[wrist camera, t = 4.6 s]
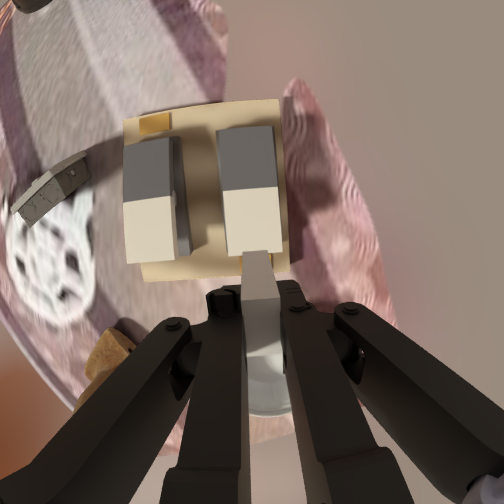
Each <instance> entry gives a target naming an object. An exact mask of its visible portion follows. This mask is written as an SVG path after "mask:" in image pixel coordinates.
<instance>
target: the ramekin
mask: <svg viewBox="0 0 504 504" xmlns="http://www.w3.org/2000/svg"><path fill="white" fill-rule="evenodd" d="M247 363H248V401H249V415H253V416H258V417H279V416H285V415H288V414H291V413H292V409H291V404H290V398H289V393H288V387H287V382H286V376H285V374H283V351H282V354H276V355H265V356H252V357H247Z"/></svg>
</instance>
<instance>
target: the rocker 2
mask: <svg viewBox="0 0 504 504" xmlns="http://www.w3.org/2000/svg"><path fill="white" fill-rule="evenodd" d="M219 145H220V160H221V173H222V187H223V200H224V212H225V224H226V235H227V247H228V257H229V256H241V255H242V252H246V251H259V250H267V251H268V253H277V252H283V249H282V235H281V222H280V209H279V197H278V185H277V174H276V164H275V153H274V143H273V134H272V126H256V127H242V128H231V129H221V130H219Z"/></svg>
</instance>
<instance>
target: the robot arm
mask: <svg viewBox="0 0 504 504" xmlns="http://www.w3.org/2000/svg"><path fill="white" fill-rule="evenodd" d="M12 1H13V3H14V4H15V6H16V8H17V9H18V10H19V11H21V12H23V13H26V14H28V13H32V12H34V11H37V10H38V9H40V8H42V7H43V6H45V5H46V4H48V3H49V2H50V1H51V0H12ZM206 301H207V307H208V314H209V315H208V320H207V321H205V322H203V323H200V324H196V325H192V326H190V322H189V320H187V319H186V318H182V317H172V318H168V319H166V320H163V321H162V322H160V323H159V324H158V325H157V326H156V327H155V328H154V329H153V330H152V331H151V332H150V333H149V334H148V335H147V336H146V337H145V338H144V340H143V341H142V342H141V343H140V344H139V345H138V346H137V347H136V348H135V349H134V350H133V351H132V352H131V353H130V354H129V355H128V356H127V357H126V359H125V360H124V361H123V362H122V363H121V364H120V365H119V366H118V367H117V368H116V369H115V370H114V371H113V372H112V373H111V375H110V376H109V377H108V378H107V379H106V380H105V381H104V382H103V383H102V384H101V385H100V386H99V387H98V388H97V390H96V391H95V392H94V393H93V394H92V395H91V396H90V397H89V398H88V399H87V400H86V402H85V403H84V404H83V405H82V406H81V407H80V408H79V409H78V410H77V411H76V412H75V414H74V415H73V416H72V417H71V418H70V419H69V420H68V421H67V422H66V424H65V425H64V426H63V427H62V428H61V429H60V430H59V431H58V433H56V435H55V436H54V437H53V438H52V439H51V440H50V441H49V442H48V444H47V445H46V446H45V447H44V448H43V449H42V451H40V453H39V454H38V455H37V456H36V457H35V458H34V459H33V461H32V462H31V463H30V464H29V465H27V466H25V467H23V468H22V469H20V470H18V471H16V472H14V473H12V474H11V475H9V476H7V477H5V478H3V479H1V480H0V504H129V502H130V501H131V499H132V497H133V496H134V494H135V492H136V491H137V489H138V487H139V485H140V484H141V482H142V481H143V479H144V477H145V475H146V474H147V472H148V470H149V469H150V467H151V465H152V463H153V462H154V460H155V458H156V457H157V455H158V453H159V451H160V450H161V448H162V446H163V444H164V443H165V441H166V439H167V437H168V436H169V434H170V432H171V430H172V429H173V427H174V425H175V423H176V422H177V420H178V418H179V416H180V415H181V413H182V411H183V409H184V408H185V406H186V404H187V402H188V400H189V399H190V401H189V406H188V411H187V416H186V421H185V426H184V431H183V436H182V441H181V447H180V452H179V457H178V462H177V465H176V466H175V467H173V468H169V470H168V471H167V472H166V475H165V478H164V481H163V487H162V492H161V497H160V502H159V504H251V478H250V477H251V476H250V441H249V401H248V363H247V357H252V356H265V355H276V354H282V351H283V374H285V376H286V382H287V387H288V393H289V398H290V404H291V409H292V415H293V421H294V426H295V432H296V437H297V443H298V449H299V455H300V461H301V467H302V473H303V479H304V485H305V490H306V496H307V504H414V501H413V499H412V496H411V494H410V491H409V489H408V486H407V484H406V482H405V479H404V477H403V475H402V472H401V470H400V468H399V465H398V463H397V461H396V458H395V456H394V455H393V453H392V451H391V450H390V449H389V448H387V447H379V446H378V445H377V443H376V441H375V439H374V437H373V434H372V432H371V430H370V427H369V425H368V423H367V420H366V418H365V416H364V414H363V411H362V409H361V406H360V404H359V402H358V399H359V400H360V401H361V403H362V404H363V405H364V406H365V407H366V408H367V410H368V411H369V412H370V413H371V414H372V415H373V417H374V418H375V419H376V420H377V421H378V422H379V424H380V425H381V426H382V427H383V428H384V429H385V431H386V432H387V433H388V434H389V435H390V436H391V438H392V439H393V440H394V441H395V442H396V443H397V444H398V446H399V447H400V448H401V449H402V450H403V451H404V453H405V454H406V455H407V456H408V457H409V458H410V460H411V461H412V462H413V463H414V464H415V465H416V466H417V468H418V469H419V470H420V471H421V472H422V473H423V474H424V475H425V477H426V478H427V479H428V480H429V481H430V482H431V483H432V484H433V486H434V487H435V488H436V489H437V490H438V491H439V492H440V493H441V494H442V495H444V496H445V497H447V498H448V499H449V500H451V501H452V502H454V503H456V504H504V410H503V409H502V408H500V407H499V406H498V405H496V404H495V403H494V402H493V401H491V400H490V399H489V398H487V397H486V396H485V395H484V394H482V393H481V392H480V391H478V390H477V389H476V388H475V387H473V386H472V385H471V384H470V383H468V382H467V381H466V380H464V379H463V378H462V377H460V376H459V375H458V374H456V373H455V372H454V371H452V370H451V369H450V368H448V367H447V366H446V365H445V364H443V363H442V362H440V361H439V360H438V359H437V358H435V357H434V356H433V355H431V354H430V353H428V352H427V351H426V350H424V349H423V348H422V347H420V346H419V345H418V344H416V343H415V342H414V341H412V340H411V339H410V338H408V337H407V336H405V335H404V334H403V333H401V332H400V331H399V330H397V329H396V328H394V327H393V326H392V325H390V324H389V323H388V322H386V321H385V320H383V319H382V318H381V317H379V316H378V315H376V314H375V313H374V312H372V311H371V310H370V309H368V308H367V307H365V306H364V305H362V304H359V303H355V302H346V303H341V304H339V305H337V306H336V307H335V310H334V313H323V312H318V311H317V310H316V308H315V306H314V305H313V304H312V303H310V302H308V301H306V299H305V296H304V294H303V292H302V290H301V288H300V285H299V283H297V282H296V281H294V280H281V281H276V280H275V276H274V272H273V269H272V265H271V262H270V258H269V254H268V251H267V250H259V251H246V252H242V277H241V285H227V286H223V287H221V288H220V289H216V290H212V291H211V292H209V293H208V294H207V295H206ZM362 351H363V353H364V354H363V353H362ZM357 398H358V399H357Z"/></svg>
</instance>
